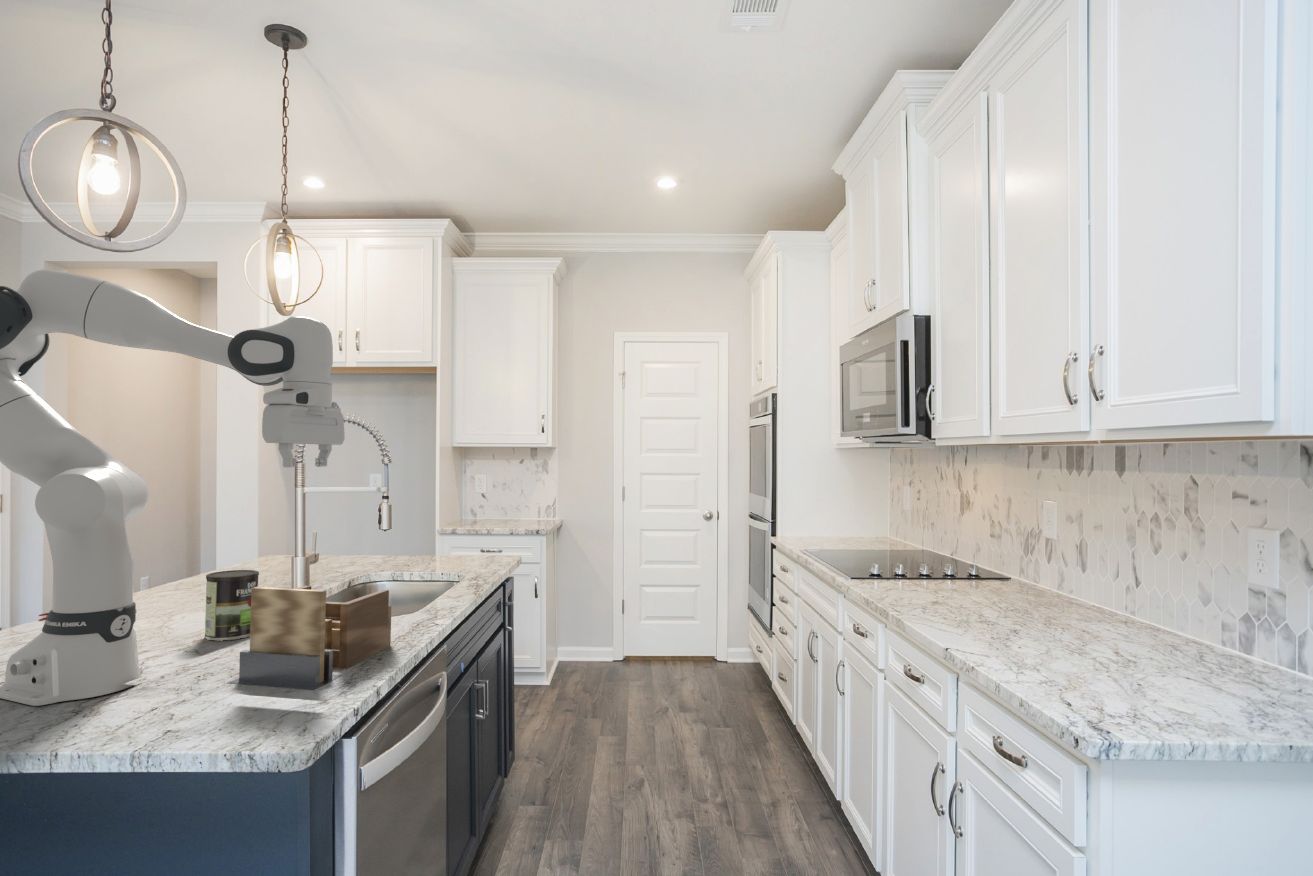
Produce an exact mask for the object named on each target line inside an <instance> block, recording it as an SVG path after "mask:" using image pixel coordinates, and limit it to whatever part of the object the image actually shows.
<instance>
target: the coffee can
mask: <svg viewBox="0 0 1313 876" xmlns="http://www.w3.org/2000/svg"><path fill="white" fill-rule="evenodd" d="M259 575H260V571H258V570H252V569H237V570H235V569H233V570H223V571H216V572H211V573H207V574H206V575H205V579H206V588H205V589H206V591H205V593H206V594H205V616H204V617H205V619H204V620H205V621H204V622H205V623H204V625H205V626H204V639H205V638H206V639H207V640H206V639H205V640H206V641H210V640H215V641H214V642H224V641H223V640H228V641H235V640H236V641H237V640H241V639H240V638H242V639H246V638H250V637H249V636H250V624H251V590H252V588H254V587H259Z"/></svg>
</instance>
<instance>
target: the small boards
mask: <svg viewBox="0 0 1313 876" xmlns="http://www.w3.org/2000/svg"><path fill="white" fill-rule="evenodd" d="M325 648H326V649H339V648H340V621H334V620H332V619H325Z"/></svg>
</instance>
